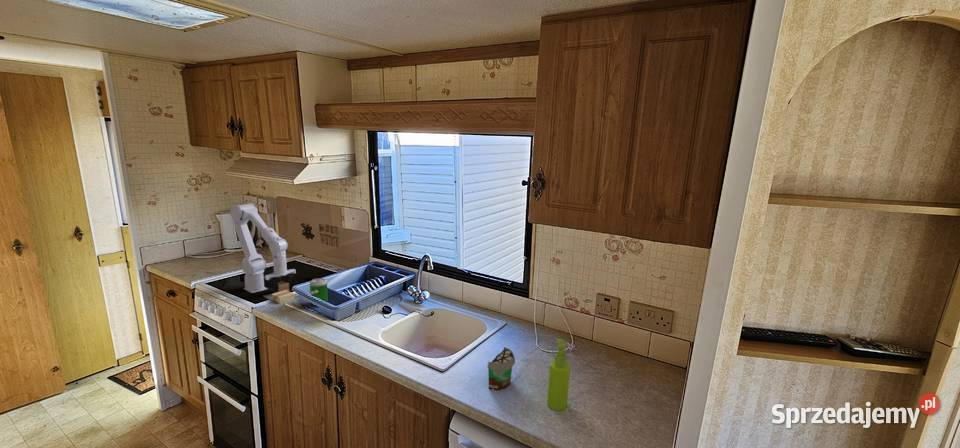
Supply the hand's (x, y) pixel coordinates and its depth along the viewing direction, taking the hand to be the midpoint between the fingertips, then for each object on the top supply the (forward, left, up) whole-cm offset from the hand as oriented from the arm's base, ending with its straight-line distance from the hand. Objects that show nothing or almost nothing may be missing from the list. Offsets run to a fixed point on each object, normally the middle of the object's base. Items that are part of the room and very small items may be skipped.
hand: (281, 290), depth 200 cm
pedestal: (+9, -4, -1) cm, 10 cm away
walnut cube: (0, 0, -1) cm, 1 cm away
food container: (+129, +6, -2) cm, 129 cm away
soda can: (+26, +5, -2) cm, 26 cm away
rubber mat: (+5, -2, -2) cm, 6 cm away
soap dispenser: (+147, +8, -2) cm, 147 cm away
